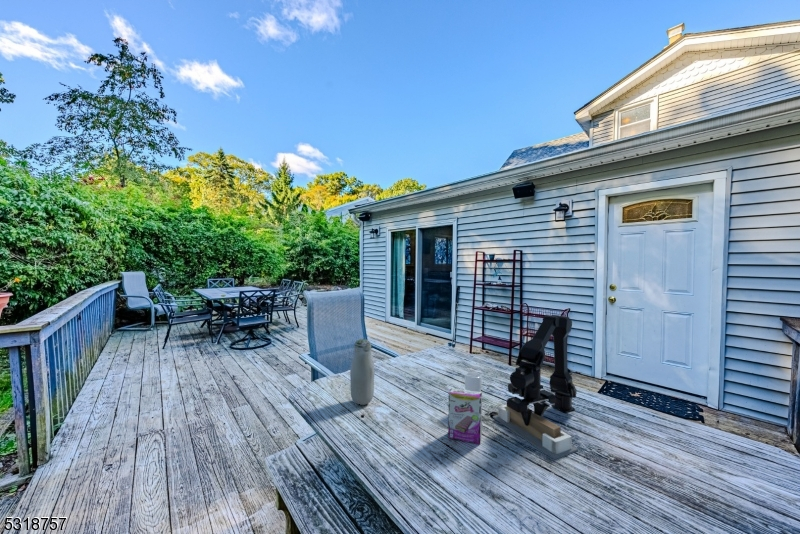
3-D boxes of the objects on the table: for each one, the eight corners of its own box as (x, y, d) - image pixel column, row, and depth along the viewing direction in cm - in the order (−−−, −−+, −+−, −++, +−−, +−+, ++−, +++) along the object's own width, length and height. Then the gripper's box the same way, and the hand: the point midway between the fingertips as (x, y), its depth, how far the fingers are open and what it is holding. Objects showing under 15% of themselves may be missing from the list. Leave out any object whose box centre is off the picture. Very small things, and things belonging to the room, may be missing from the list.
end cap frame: (513, 412, 125) (513, 400, 125) (578, 450, 99) (578, 436, 99) (492, 417, 120) (492, 406, 120) (554, 459, 95) (554, 445, 95)
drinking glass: (481, 415, 122) (482, 378, 122) (464, 413, 123) (464, 377, 123) (480, 407, 129) (481, 372, 128) (464, 405, 130) (464, 371, 130)
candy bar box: (447, 439, 106) (447, 392, 105) (450, 431, 110) (450, 386, 110) (480, 445, 102) (481, 397, 102) (481, 437, 107) (482, 391, 107)
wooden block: (513, 417, 119) (513, 402, 119) (560, 444, 101) (560, 426, 101) (506, 419, 118) (507, 404, 118) (553, 447, 100) (553, 429, 100)
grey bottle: (346, 406, 130) (346, 341, 129) (358, 396, 139) (358, 335, 139) (367, 410, 126) (366, 343, 125) (377, 400, 135) (377, 337, 135)
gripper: (532, 370, 121) (532, 408, 121) (495, 377, 113) (495, 418, 113) (557, 380, 110) (557, 422, 111) (518, 388, 103) (518, 434, 103)
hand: (531, 423), depth 110 cm, fingers open, 5 cm apart
